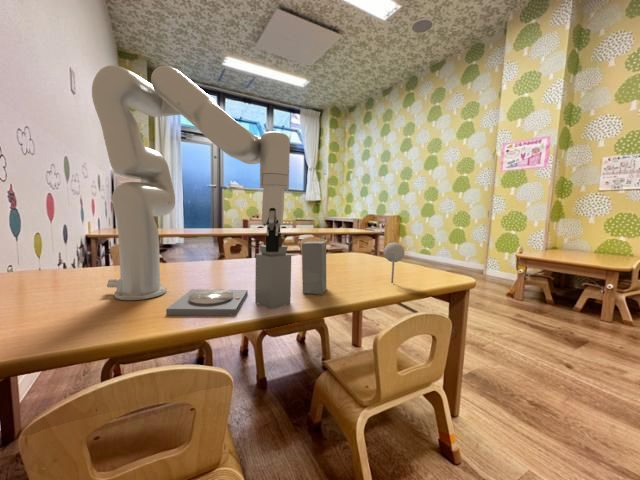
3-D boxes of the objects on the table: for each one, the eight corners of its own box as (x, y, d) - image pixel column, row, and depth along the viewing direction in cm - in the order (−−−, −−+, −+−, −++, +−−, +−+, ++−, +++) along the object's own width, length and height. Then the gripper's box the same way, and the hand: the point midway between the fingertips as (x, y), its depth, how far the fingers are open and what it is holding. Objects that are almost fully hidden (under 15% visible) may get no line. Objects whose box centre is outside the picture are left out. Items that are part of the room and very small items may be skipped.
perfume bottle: (290, 303, 77) (291, 238, 75) (270, 309, 72) (271, 239, 70) (275, 297, 82) (276, 235, 80) (255, 302, 77) (255, 237, 75)
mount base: (166, 315, 66) (166, 304, 66) (191, 294, 82) (191, 286, 82) (235, 315, 68) (235, 305, 67) (247, 294, 84) (247, 286, 83)
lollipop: (404, 286, 99) (407, 244, 97) (384, 285, 99) (386, 243, 97) (399, 281, 106) (401, 241, 104) (380, 280, 106) (382, 240, 104)
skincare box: (322, 295, 85) (324, 243, 83) (299, 293, 87) (300, 242, 85) (327, 288, 93) (328, 240, 92) (306, 286, 95) (307, 239, 93)
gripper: (264, 184, 82) (263, 244, 84) (254, 178, 65) (254, 254, 67) (289, 185, 83) (288, 245, 84) (287, 180, 65) (286, 255, 67)
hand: (273, 248), depth 76 cm, fingers closed on perfume bottle, 7 cm apart
